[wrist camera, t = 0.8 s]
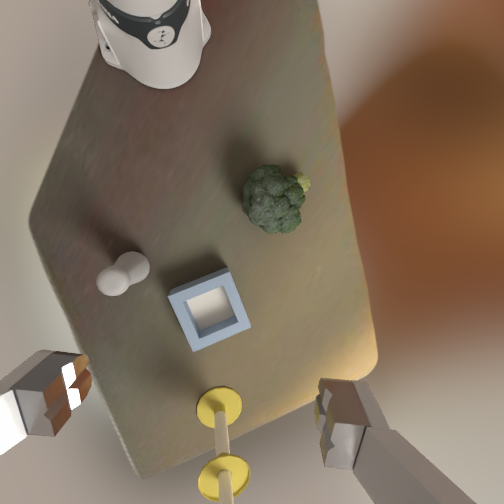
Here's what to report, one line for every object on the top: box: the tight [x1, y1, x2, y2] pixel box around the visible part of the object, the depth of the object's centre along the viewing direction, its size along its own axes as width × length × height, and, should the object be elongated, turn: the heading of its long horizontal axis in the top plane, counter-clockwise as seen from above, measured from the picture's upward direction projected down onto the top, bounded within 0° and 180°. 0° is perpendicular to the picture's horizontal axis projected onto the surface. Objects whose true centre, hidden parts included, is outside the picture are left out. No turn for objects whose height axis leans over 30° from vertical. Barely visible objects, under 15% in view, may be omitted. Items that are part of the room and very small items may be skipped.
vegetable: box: [242, 165, 311, 233], centre depth 46 cm, size 12×13×15 cm
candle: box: [197, 387, 250, 504], centre depth 39 cm, size 10×10×32 cm
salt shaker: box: [97, 251, 150, 296], centre depth 41 cm, size 6×6×13 cm
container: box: [168, 267, 251, 352], centre depth 49 cm, size 12×12×4 cm
